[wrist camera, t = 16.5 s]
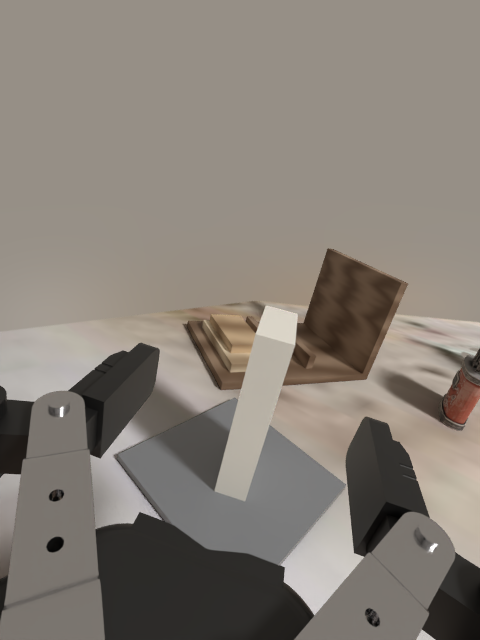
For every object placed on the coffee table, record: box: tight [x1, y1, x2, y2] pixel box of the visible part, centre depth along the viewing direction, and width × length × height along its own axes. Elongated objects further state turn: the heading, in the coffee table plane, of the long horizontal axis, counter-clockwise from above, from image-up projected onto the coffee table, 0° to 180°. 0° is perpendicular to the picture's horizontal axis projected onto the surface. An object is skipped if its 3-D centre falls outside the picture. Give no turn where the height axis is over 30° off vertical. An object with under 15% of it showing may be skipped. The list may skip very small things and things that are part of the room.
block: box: [215, 305, 298, 501], centre depth 26 cm, size 6×2×14 cm, turn 169°
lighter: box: [438, 349, 480, 431], centre depth 44 cm, size 8×3×10 cm, turn 147°
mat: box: [117, 398, 346, 565], centre depth 29 cm, size 14×14×1 cm
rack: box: [187, 249, 408, 390], centre depth 48 cm, size 16×23×15 cm
